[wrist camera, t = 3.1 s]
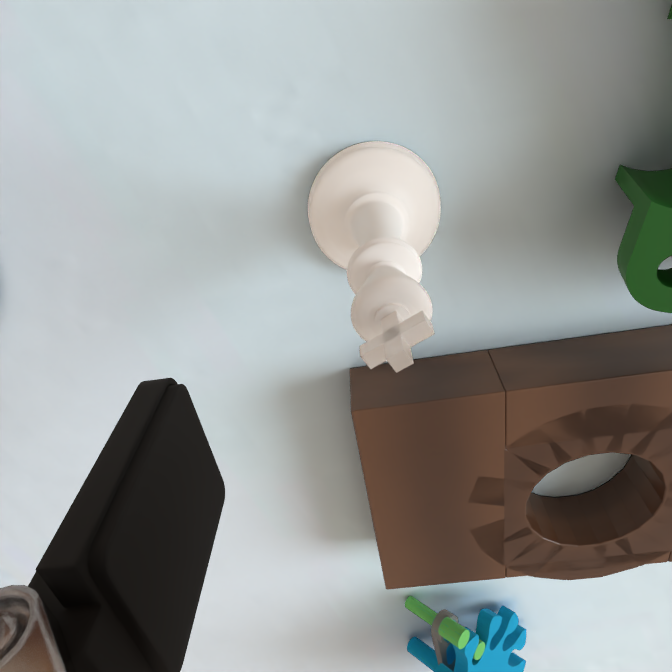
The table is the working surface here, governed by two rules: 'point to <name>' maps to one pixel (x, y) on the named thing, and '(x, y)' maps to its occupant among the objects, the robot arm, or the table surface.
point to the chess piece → (379, 242)
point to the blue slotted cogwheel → (469, 641)
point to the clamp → (647, 235)
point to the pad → (518, 459)
